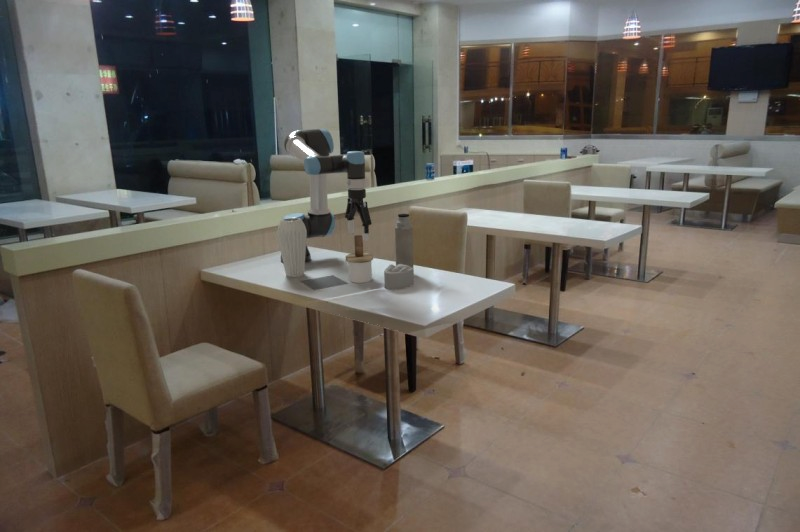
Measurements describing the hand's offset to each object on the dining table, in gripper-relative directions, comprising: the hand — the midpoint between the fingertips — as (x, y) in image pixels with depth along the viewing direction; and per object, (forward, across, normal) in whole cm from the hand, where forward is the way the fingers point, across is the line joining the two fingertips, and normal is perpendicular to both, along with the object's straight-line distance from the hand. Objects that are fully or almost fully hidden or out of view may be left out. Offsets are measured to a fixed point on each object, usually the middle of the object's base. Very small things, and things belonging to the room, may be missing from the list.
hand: (358, 237), depth 244 cm
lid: (+10, 0, 0) cm, 10 cm away
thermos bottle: (+20, +4, +21) cm, 29 cm away
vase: (+20, -24, -21) cm, 38 cm away
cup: (+20, +1, 0) cm, 20 cm away
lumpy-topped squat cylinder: (+20, +16, +10) cm, 27 cm away
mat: (+20, -5, -15) cm, 25 cm away
